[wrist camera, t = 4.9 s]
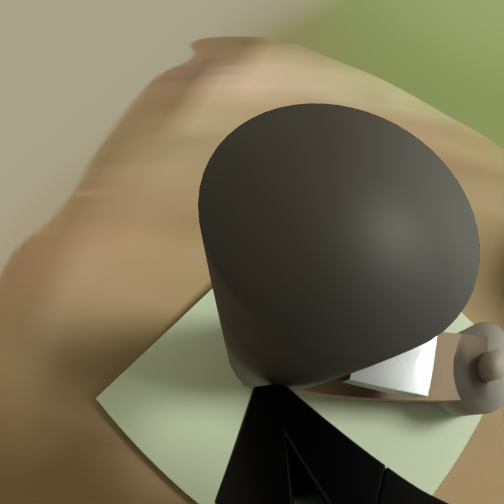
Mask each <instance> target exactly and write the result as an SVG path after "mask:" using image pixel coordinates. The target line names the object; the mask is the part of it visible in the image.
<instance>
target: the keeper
mask: <svg viewBox="0 0 504 504" xmlns="http://www.w3.org/2000/svg"><path fill="white" fill-rule="evenodd" d="M436 342H437V336H436V337H435V338H433V339H432V340H431V341H429V342H427V343H425V344H423V345H420V346H418V347H416V348H414V349H412V350H410V351H407V352H405V353H403V354H400V355H398V356H395V357H393V358H391V359H388V360H386V361H383V362H381V363H378V364H375V365H373V366H370V367H368V368H365V369H362V370H360V371H357V372H354V373H351V374H348V375H346V376H343V377H342V378H341V382H342V383H346V384H351V385H355V386H359V387H363V388H368V389H372V390H377V391H382V392H386V393H391V394H396V395H401V396H406V397H412V398H417V397H424V396H428V393H429V387H430V382H431V376H432V370H433V364H434V357H435V350H436Z"/></svg>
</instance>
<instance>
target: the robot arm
mask: <svg viewBox="0 0 504 504" xmlns="http://www.w3.org/2000/svg"><path fill="white" fill-rule="evenodd" d="M214 502H215V504H448V503H446V502H444V501H442V500H440V499H438V498H436V497H434V496H432V495H430V494H428V493H426V492H425V491H423V490H421V489H419V488H418V487H416V486H415V485H413V484H411V483H410V482H408V481H407V480H405V479H404V478H402V477H401V476H399V475H398V474H397V473H395V472H394V471H393V470H391V469H390V468H388V467H387V468H385V465H384V464H383V463H381V462H380V461H379V460H377V459H376V458H375V457H373V456H372V455H371V454H369V453H368V452H367V451H366V450H364V449H363V448H362V447H360V446H359V445H358V444H356V443H355V442H354V441H353V440H351V439H350V438H349V437H347V436H346V435H345V434H344V433H342V432H341V431H340V430H339V429H337V428H336V427H335V426H334V425H332V424H331V423H330V422H329V421H327V420H326V419H325V418H324V417H323V416H321V415H320V414H319V413H318V412H317V411H315V410H314V409H313V408H312V407H311V406H309V405H308V404H307V403H306V402H305V401H303V400H302V399H301V398H300V397H299V396H297V395H296V394H295V393H294V392H293V391H292V390H291V389H289V388H288V387H287V386H283V385H277V384H269V385H263V386H256V387H254V388H253V389H252V392H251V395H250V399H249V402H248V405H247V408H246V411H245V414H244V417H243V420H242V423H241V426H240V429H239V432H238V435H237V438H236V441H235V444H234V447H233V450H232V453H231V456H230V459H229V462H228V465H227V467H226V470H225V473H224V476H223V479H222V482H221V484H220V487H219V490H218V493H217V496H216V498H215V501H214Z"/></svg>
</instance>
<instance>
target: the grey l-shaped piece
mask: <svg viewBox="0 0 504 504" xmlns="http://www.w3.org/2000/svg"><path fill="white" fill-rule="evenodd" d="M198 209H199V223H200V228H201V233H202V238H203V243H204V248H205V253H206V258H207V263H208V268H209V273H210V278H211V283H212V287H213V292H214V297H215V301H216V306H217V311H218V315H219V320H220V324H221V328H222V333H223V337H224V342H225V346H226V350H227V354H228V358H229V362H230V365H231V367H232V369H233V371H234V373H235V374H236V376H237V377H238V378H239V379H240V380H241V381H242V386H248V387H249V388H251V389H253V388H254V387H256V386H263V385H269V384H277V385H283V386H287V387H288V388H289V389H291V390H292V391H293V392H294V393H295V394H299V395H306V396H315V397H324V398H333V399H344V400H356V401H370V402H388V403H438V405H439V406H440V407H441V408H442V409H443V410H444V411H445V412H447V413H448V414H451V415H454V416H469V415H479V414H487V413H491V412H493V411H495V410H497V409H498V408H499V407H501V406H502V405H503V403H504V332H503V331H502V330H501V329H500V328H499V327H498V326H496V325H494V324H492V323H488V322H480V323H477V324H474V325H472V326H470V327H468V328H466V329H464V330H462V331H460V332H458V333H448V332H443V331H445V330H446V329H447V328H448V327H449V326H450V325H451V324H452V323H453V322H454V321H455V320H456V318H457V317H458V316H459V314H460V313H461V312H462V310H463V309H464V307H465V306H466V304H467V302H468V300H469V298H470V296H471V294H472V291H473V289H474V286H475V282H476V279H477V275H478V268H479V260H480V244H479V236H478V229H477V225H476V221H475V218H474V214H473V211H472V209H471V206H470V204H469V201H468V199H467V197H466V195H465V193H464V191H463V189H462V187H461V186H460V184H459V183H458V181H457V179H456V178H455V176H454V175H453V174H452V172H451V171H450V170H449V168H448V167H447V166H446V165H445V163H444V162H443V161H442V160H441V159H440V158H439V157H438V156H437V155H436V154H435V153H434V152H433V151H432V150H431V149H430V148H429V147H428V146H426V145H425V144H424V143H423V142H422V141H420V140H419V139H418V138H416V137H415V136H413V135H412V134H411V133H409V132H408V131H406V130H404V129H403V128H401V127H399V126H398V125H396V124H394V123H392V122H390V121H388V120H386V119H384V118H382V117H379V116H376V115H374V114H371V113H368V112H365V111H362V110H358V109H355V108H350V107H345V106H340V105H332V104H298V105H291V106H286V107H281V108H277V109H274V110H271V111H267V112H265V113H262V114H260V115H258V116H256V117H253V118H251V119H250V120H248V121H247V122H245V123H243V124H242V125H240V126H239V127H237V128H236V129H235V130H234V131H233V132H231V133H230V134H229V135H228V136H227V137H226V138H225V139H224V140H223V141H222V142H221V143H220V145H219V146H218V147H217V149H216V150H215V152H214V153H213V155H212V156H211V158H210V160H209V162H208V164H207V166H206V168H205V171H204V174H203V177H202V181H201V185H200V190H199V201H198ZM436 336H437V342H436V350H435V357H434V364H433V370H432V376H431V382H430V387H429V393H428V396H424V397H417V398H412V397H406V396H401V395H396V394H391V393H386V392H382V391H377V390H372V389H368V388H363V387H359V386H355V385H351V384H346V383H342V382H341V378H342V377H343V376H346V375H348V374H351V373H354V372H357V371H360V370H362V369H365V368H368V367H370V366H373V365H375V364H378V363H381V362H383V361H386V360H388V359H391V358H393V357H395V356H398V355H400V354H403V353H405V352H407V351H410V350H412V349H414V348H416V347H418V346H420V345H423V344H425V343H427V342H429V341H431V340H432V339H433V338H435V337H436Z"/></svg>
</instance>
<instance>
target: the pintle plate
mask: <svg viewBox="0 0 504 504" xmlns="http://www.w3.org/2000/svg"><path fill="white" fill-rule="evenodd" d="M472 325H474V324H473V323H472V322H471V321H470V320H469V319H468V318H467V317H466V316H465V315H464V314H462V313H460V314H459V316H458V317H457V318H456V320H455V321H454V322H453V323H452V324H451V325H450V326H449V327H448V328H447V329H446V330H445V331H443V332H448V333H458V332H460V331H462V330H464V329H466V328H468V327H470V326H472ZM251 392H252V389H251V388H249V387H248V386H242V381H241V380H240V379H239V378H238V377H237V376H236V374H235V373H234V371H233V369H232V367H231V365H230V362H229V358H228V354H227V350H226V346H225V342H224V337H223V333H222V328H221V324H220V320H219V315H218V311H217V306H216V301H215V297H214V292H213V288H212V289H211V290H210V291H209V292H208V293H207V294H206V295H205V296H204V297H203V298H202V299H201V300H200V301H199V302H197V303H196V304H195V305H194V306H193V307H192V308H191V309H190V310H189V311H188V312H187V313H186V314H185V315H184V316H183V317H181V318H180V319H179V320H178V321H177V322H176V323H175V324H174V325H173V326H172V327H171V328H170V329H169V330H168V331H167V332H166V333H164V334H163V335H162V336H161V337H160V338H159V339H158V340H157V341H156V342H155V343H154V344H153V345H152V346H151V347H150V348H149V349H147V350H146V351H145V352H144V353H143V354H142V355H141V356H140V357H139V358H138V359H137V360H136V361H135V362H134V363H133V364H132V365H130V366H129V367H128V368H127V369H126V370H125V371H124V372H123V373H122V374H121V375H120V376H119V377H118V378H117V379H116V380H115V381H113V382H112V383H111V384H110V385H109V386H108V387H107V388H106V389H105V390H104V391H103V392H102V393H101V394H100V395H99V396H98V397H96V399H97V401H98V402H99V403H100V404H101V406H102V407H103V408H104V409H105V410H106V412H107V413H108V414H109V415H110V416H111V418H112V419H113V420H114V421H115V422H116V423H117V425H118V426H119V427H120V428H121V429H122V430H123V431H124V433H125V434H126V435H127V436H128V437H129V438H130V439H131V440H132V441H133V442H134V443H135V445H136V446H137V447H138V448H139V449H140V450H141V451H142V452H143V453H144V454H145V455H146V456H147V457H148V458H149V459H150V460H151V461H152V462H153V463H154V464H155V465H156V466H157V467H158V468H159V469H160V470H161V471H162V472H163V473H164V474H165V475H166V476H167V477H169V478H170V479H171V480H172V481H173V482H174V483H175V484H176V485H177V486H178V487H180V488H181V489H182V490H183V491H184V492H185V493H186V494H187V495H189V496H190V497H191V498H192V499H193V500H195V501H196V502H197V503H198V504H215V502H214V501H215V498H216V496H217V493H218V490H219V487H220V484H221V482H222V479H223V476H224V473H225V470H226V467H227V465H228V462H229V459H230V456H231V453H232V450H233V447H234V444H235V441H236V438H237V435H238V432H239V429H240V426H241V423H242V420H243V417H244V414H245V411H246V408H247V405H248V402H249V399H250V395H251ZM296 395H297V396H299V397H300V398H301V399H302V400H303V401H305V402H306V403H307V404H308V405H309V406H311V407H312V408H313V409H314V410H315V411H317V412H318V413H319V414H320V415H321V416H323V417H324V418H325V419H326V420H327V421H329V422H330V423H331V424H332V425H334V426H335V427H336V428H337V429H339V430H340V431H341V432H342V433H344V434H345V435H346V436H347V437H349V438H350V439H351V440H353V441H354V442H355V443H356V444H358V445H359V446H360V447H362V448H363V449H364V450H366V451H367V452H368V453H369V454H371V455H372V456H373V457H375V458H376V459H377V460H379V461H380V462H381V463H383V464H384V465H385V468H387V467H388V468H390V469H391V470H393V471H394V472H395V473H397V474H398V475H399V476H401V477H402V478H404V479H405V480H407V481H408V482H410V483H411V484H413V485H415V486H416V487H418V488H419V489H421V490H423V491H425V492H426V493H428V494H430V495H433V494H434V492H435V491H436V490H437V488H438V487H439V485H440V484H441V483H442V481H443V480H444V478H445V477H446V475H447V474H448V472H449V471H450V469H451V468H452V466H453V465H454V463H455V462H456V460H457V459H458V457H459V455H460V454H461V452H462V450H463V449H464V447H465V445H466V444H467V442H468V440H469V439H470V437H471V435H472V433H473V432H474V430H475V428H476V426H477V424H478V422H479V420H480V419H481V417H482V415H483V414H479V415H469V416H454V415H451V414H448V413H447V412H445V411H444V410H443V409H442V408H441V407H440V406H439V405H438V403H388V402H370V401H356V400H344V399H333V398H324V397H315V396H306V395H299V394H296Z"/></svg>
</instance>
